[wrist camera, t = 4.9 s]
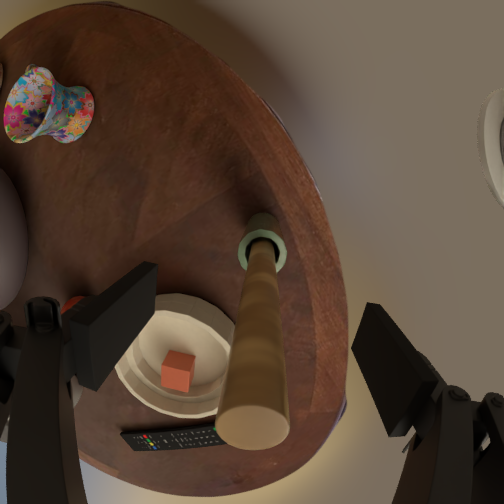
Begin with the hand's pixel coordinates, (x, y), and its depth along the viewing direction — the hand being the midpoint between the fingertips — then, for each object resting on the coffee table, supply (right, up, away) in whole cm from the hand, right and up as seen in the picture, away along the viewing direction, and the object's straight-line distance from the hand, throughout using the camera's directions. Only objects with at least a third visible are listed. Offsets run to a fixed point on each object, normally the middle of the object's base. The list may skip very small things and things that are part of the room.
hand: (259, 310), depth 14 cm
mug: (-26, +24, +19) cm, 40 cm away
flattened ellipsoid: (-43, +7, +24) cm, 50 cm away
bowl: (-10, -11, +27) cm, 31 cm away
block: (-11, -14, +27) cm, 32 cm away
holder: (+1, +6, +22) cm, 23 cm away
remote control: (-14, -31, +32) cm, 47 cm away
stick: (+1, +5, +22) cm, 22 cm away
